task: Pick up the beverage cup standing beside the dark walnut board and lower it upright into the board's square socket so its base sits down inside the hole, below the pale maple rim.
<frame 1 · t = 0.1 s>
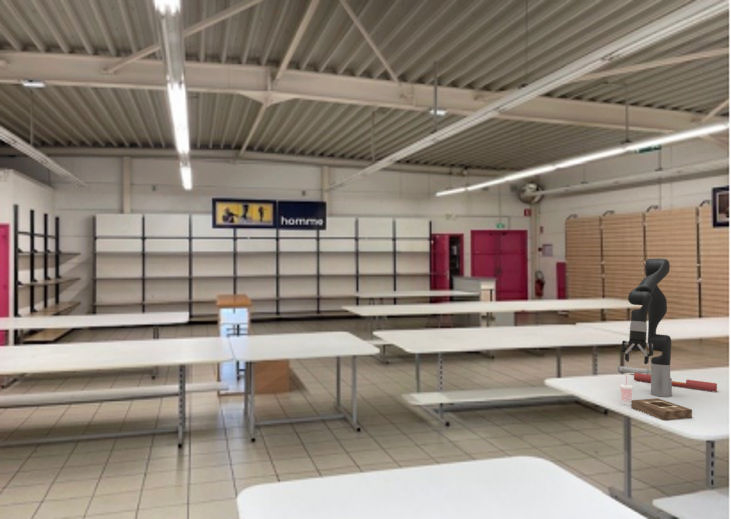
hand: (636, 362, 256), 22 cm above the table, tool pointing down, fingers open, 8 cm apart
reddish-brown long rod: (673, 386, 301), on the table
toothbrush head: (637, 375, 328), on the table
socket board: (660, 412, 246), on the table
beverage cup: (626, 403, 263), on the table
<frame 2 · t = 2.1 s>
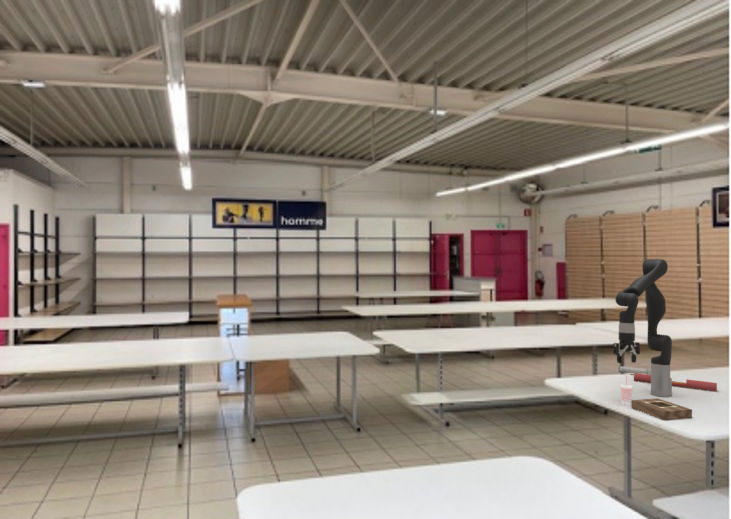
hand: (626, 362, 263), 21 cm above the table, tool pointing down, fingers open, 8 cm apart
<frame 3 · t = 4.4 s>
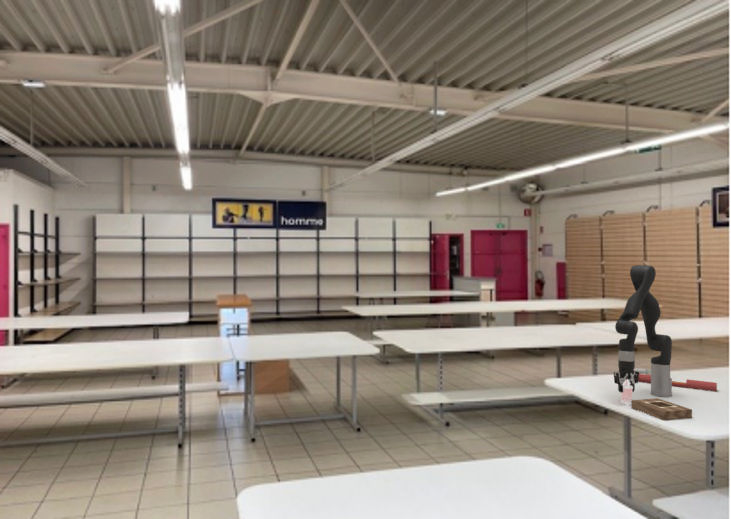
hand: (626, 391, 263), 6 cm above the table, tool pointing down, fingers closed on beverage cup, 6 cm apart
beverage cup: (626, 403, 263), on the table, touching gripper
everything else where it was.
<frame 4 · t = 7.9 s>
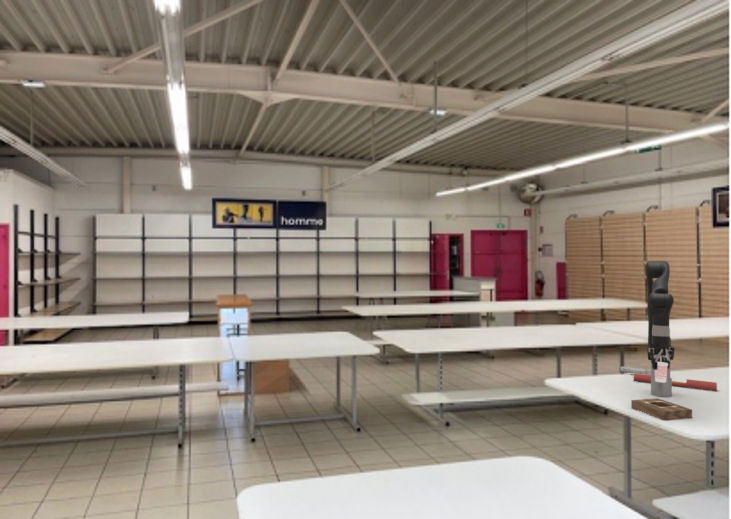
hand: (660, 368, 246), 21 cm above the table, tool pointing down, fingers closed on beverage cup, 6 cm apart
beverage cup: (660, 381, 246), point 15 cm above the table, touching gripper
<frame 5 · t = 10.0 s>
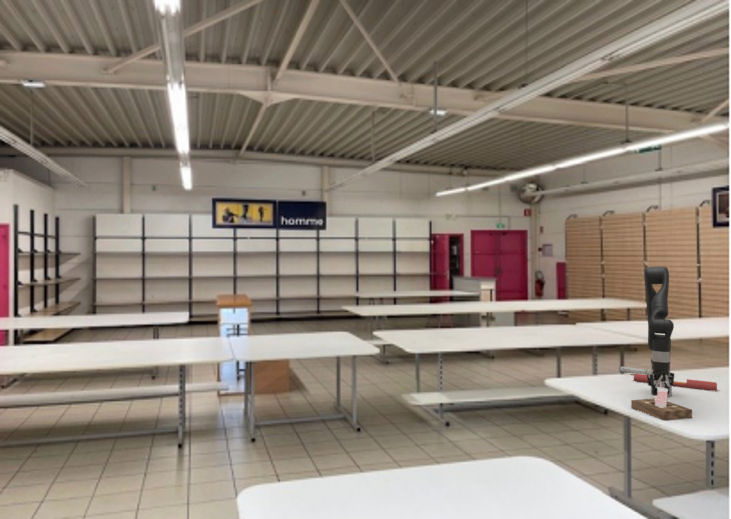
hand: (660, 394, 246), 9 cm above the table, tool pointing down, fingers closed on beverage cup, 6 cm apart
beverage cup: (660, 407, 246), point 3 cm above the table, touching gripper
when the fingers open (8 cm above the table, at t = 11.6 s): beverage cup drops 1 cm, resting in socket board.
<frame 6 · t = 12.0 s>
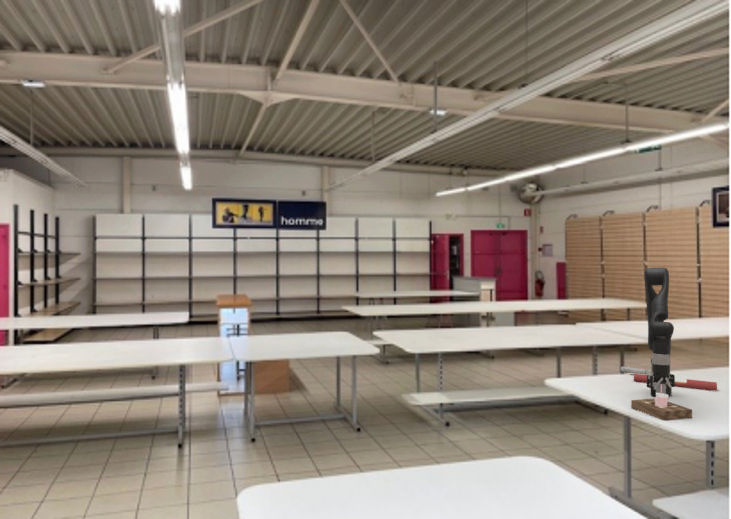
hand: (660, 396, 246), 8 cm above the table, tool pointing down, fingers open, 8 cm apart
beverage cup: (660, 413, 246), resting in socket board
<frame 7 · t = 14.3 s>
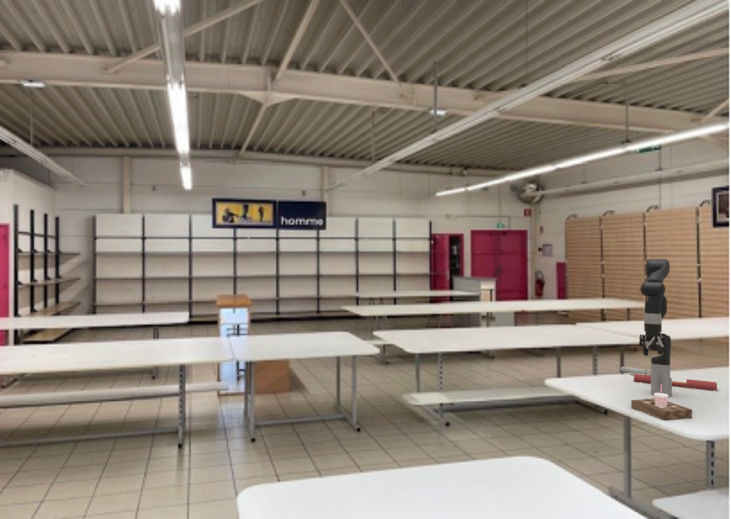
hand: (652, 354, 252), 27 cm above the table, tool pointing down, fingers open, 8 cm apart
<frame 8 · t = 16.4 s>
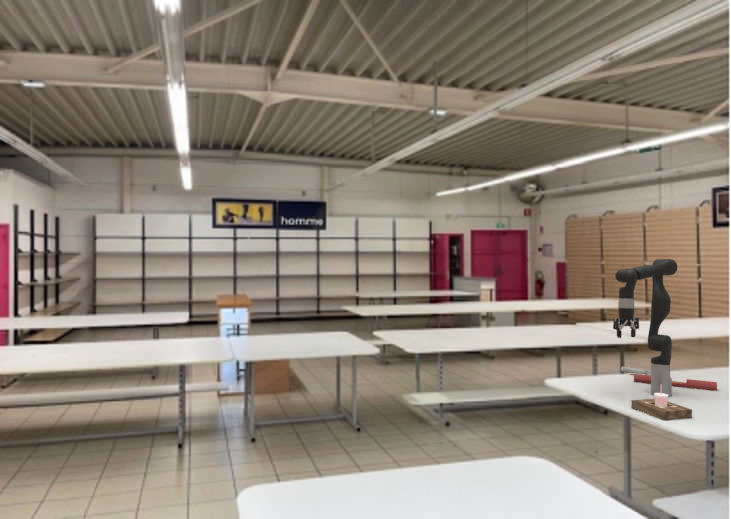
hand: (626, 337, 270), 33 cm above the table, tool pointing down, fingers open, 8 cm apart
at the end: beverage cup 0.2 cm off-centre on the socket board, point 0.0 cm above the socket board's base; beverage cup tilted 0°; the gripper is holding nothing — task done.
